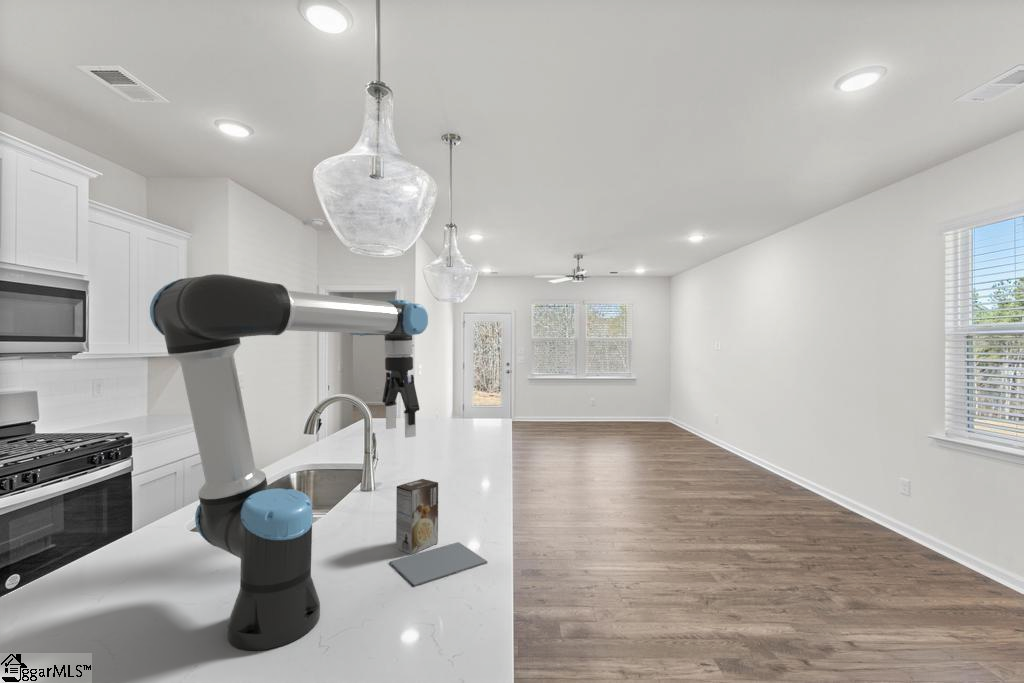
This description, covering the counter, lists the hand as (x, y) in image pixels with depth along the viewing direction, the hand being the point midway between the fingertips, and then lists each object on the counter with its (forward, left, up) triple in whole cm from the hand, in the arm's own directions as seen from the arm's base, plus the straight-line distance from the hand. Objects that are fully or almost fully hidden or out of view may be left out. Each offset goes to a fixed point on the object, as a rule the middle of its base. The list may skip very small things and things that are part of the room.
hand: (400, 432), depth 128 cm
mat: (+1, -22, -28) cm, 36 cm away
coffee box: (+1, -10, -28) cm, 30 cm away
